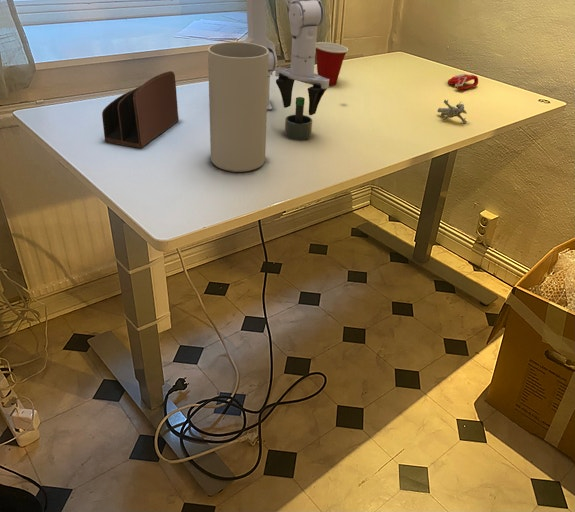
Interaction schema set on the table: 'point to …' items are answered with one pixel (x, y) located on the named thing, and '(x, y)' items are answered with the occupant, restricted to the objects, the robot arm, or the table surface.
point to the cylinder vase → (238, 105)
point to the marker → (299, 110)
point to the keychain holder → (461, 79)
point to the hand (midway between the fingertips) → (299, 110)
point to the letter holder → (142, 112)
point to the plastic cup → (330, 60)
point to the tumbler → (298, 128)
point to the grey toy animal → (453, 111)
